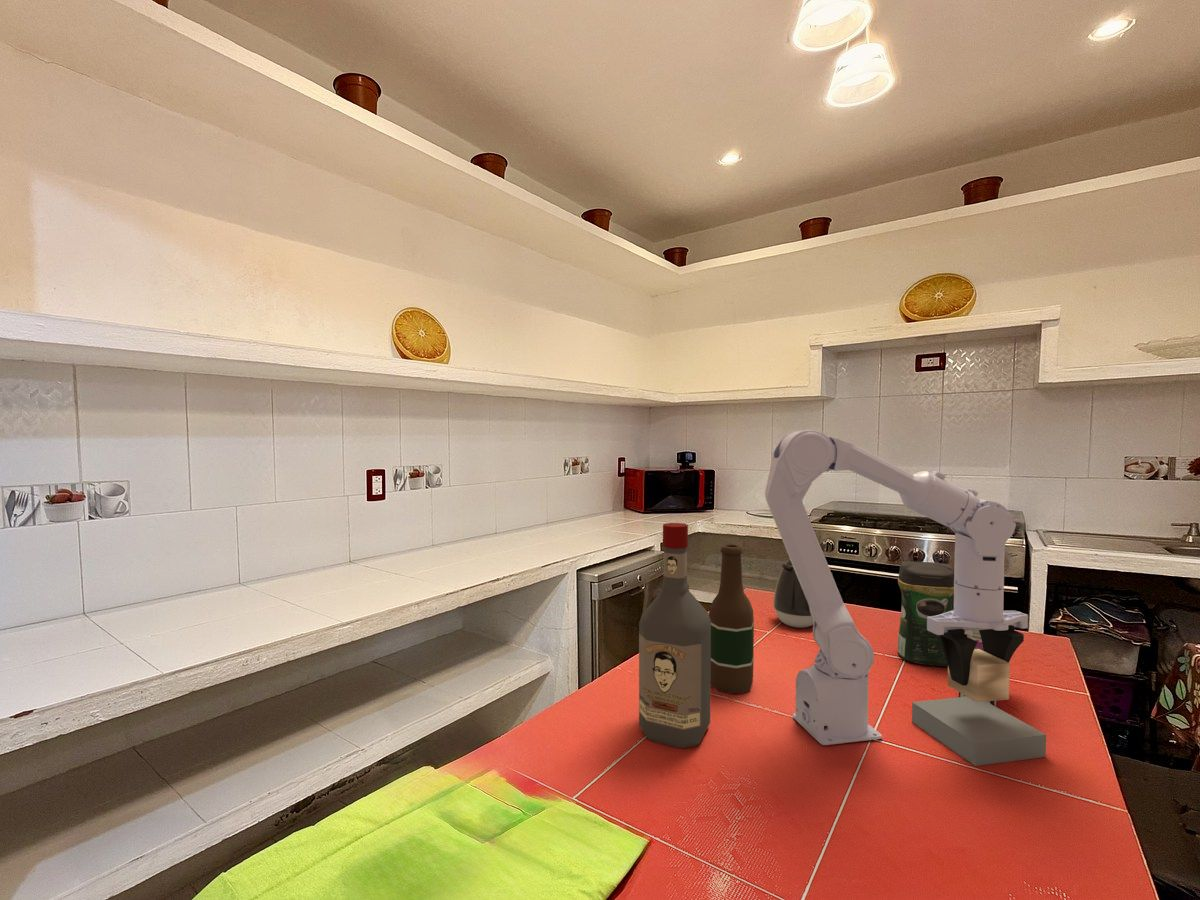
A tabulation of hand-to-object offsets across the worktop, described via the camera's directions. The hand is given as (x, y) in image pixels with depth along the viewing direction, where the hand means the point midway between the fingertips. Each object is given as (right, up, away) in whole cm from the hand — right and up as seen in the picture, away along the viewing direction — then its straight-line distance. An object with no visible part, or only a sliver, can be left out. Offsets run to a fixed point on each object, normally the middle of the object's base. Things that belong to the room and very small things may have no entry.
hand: (976, 680), depth 77 cm
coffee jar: (+9, -8, +28) cm, 30 cm away
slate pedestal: (0, -8, +1) cm, 8 cm away
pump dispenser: (-8, -7, +47) cm, 48 cm away
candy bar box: (+9, -8, +12) cm, 17 cm away
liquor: (-42, -9, +3) cm, 43 cm away
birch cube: (0, -2, 0) cm, 2 cm away
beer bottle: (-30, -8, +17) cm, 36 cm away
